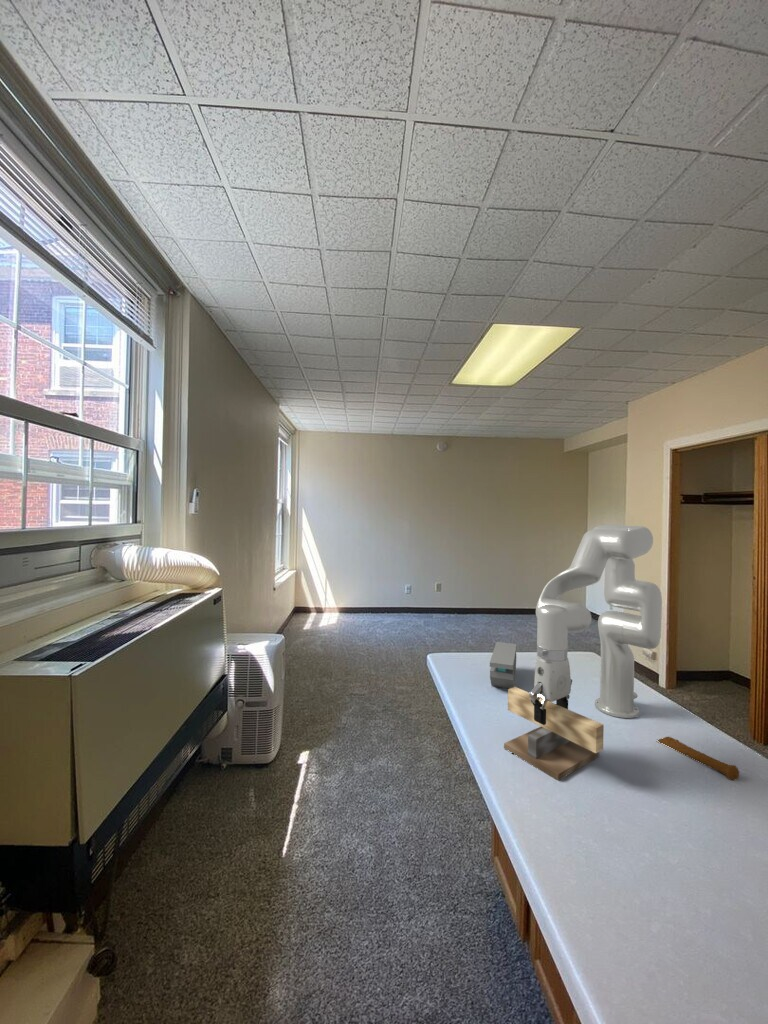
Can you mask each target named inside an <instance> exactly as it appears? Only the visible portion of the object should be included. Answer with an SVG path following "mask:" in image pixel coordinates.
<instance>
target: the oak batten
mask: <svg viewBox="0 0 768 1024" xmlns="http://www.w3.org/2000/svg"><path fill="white" fill-rule="evenodd" d="M529 693H530V691H529V692H528V691H527V690H524V689H522V688H519V687H517V686H514V687H513V688H510V689H509V688H507V710H508V711H509V712H511V713H512V714H516V715H517V716H519V717H521V718H523V719H525V720H527V721H530V722H532V723H533V724H535V725H537V726H539V727H543V728H545V729H547V730H549V731H551V732H553V733H555V734H557V735H560V736H562V737H564V738H566V739H568V740H570V741H572V742H574V743H576V744H578V745H580V746H582V747H584V748H586V749H588V750H590V751H592V752H594V753H598V752H599V753H600V752H601V751H603V750H604V730H605V729H604V724H603V723H601V722H599V721H596V720H594V719H592V718H589V717H588V716H585V715H582V714H579V713H577V712H576V711H573V710H570V709H569V708H568V709H566V708H564V707H561V706H559V705H557V704H556V703H554V702H549V701H547V703H546V706H545V708H544V709H546V724H545V725H543V724H541V723H539V722H536V721H535V720H534V706H533V703H532V702H531V698H530V696H529ZM539 701H540V702H541V703H542V701H543V699H541V698H540V699H539Z"/></svg>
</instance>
